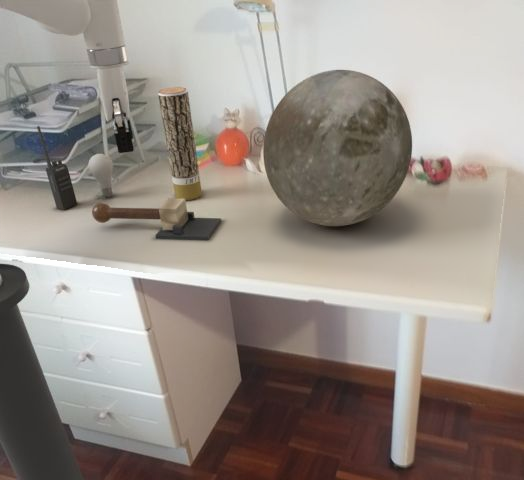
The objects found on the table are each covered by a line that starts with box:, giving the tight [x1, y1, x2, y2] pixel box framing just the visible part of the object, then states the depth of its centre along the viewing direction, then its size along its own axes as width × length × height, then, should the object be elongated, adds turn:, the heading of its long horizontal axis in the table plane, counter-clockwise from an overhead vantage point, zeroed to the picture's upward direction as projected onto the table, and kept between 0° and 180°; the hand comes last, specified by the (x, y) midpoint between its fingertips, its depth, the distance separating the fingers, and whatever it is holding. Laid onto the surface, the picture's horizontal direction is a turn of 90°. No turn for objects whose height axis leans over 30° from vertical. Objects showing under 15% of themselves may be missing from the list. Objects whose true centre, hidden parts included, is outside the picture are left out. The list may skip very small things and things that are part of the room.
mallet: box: [91, 197, 188, 230], centre depth 127 cm, size 22×6×5 cm, turn 77°
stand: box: [155, 211, 222, 241], centre depth 126 cm, size 12×10×2 cm
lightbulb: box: [88, 153, 114, 198], centre depth 145 cm, size 6×6×11 cm
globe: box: [262, 69, 413, 227], centre depth 116 cm, size 30×30×30 cm
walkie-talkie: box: [36, 125, 78, 211], centre depth 139 cm, size 5×3×20 cm
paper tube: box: [157, 86, 203, 201], centre depth 137 cm, size 7×7×25 cm
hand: (126, 145), depth 122 cm, fingers open, 9 cm apart
